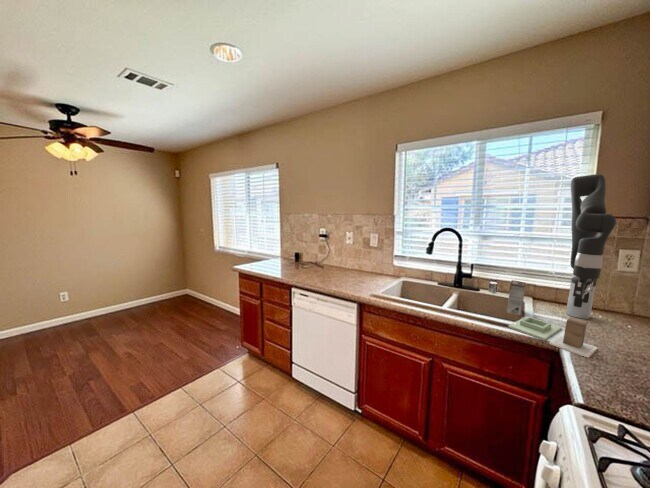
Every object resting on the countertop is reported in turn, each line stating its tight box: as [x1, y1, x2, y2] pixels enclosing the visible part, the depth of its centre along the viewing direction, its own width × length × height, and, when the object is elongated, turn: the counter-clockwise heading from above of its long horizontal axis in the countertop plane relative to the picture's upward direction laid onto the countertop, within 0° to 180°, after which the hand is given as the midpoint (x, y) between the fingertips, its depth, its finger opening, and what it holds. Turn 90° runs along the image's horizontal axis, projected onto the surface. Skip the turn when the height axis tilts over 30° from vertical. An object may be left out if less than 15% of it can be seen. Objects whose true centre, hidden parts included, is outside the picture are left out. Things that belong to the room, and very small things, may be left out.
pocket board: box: [507, 315, 563, 341], centre depth 124 cm, size 20×14×3 cm
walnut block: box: [563, 317, 588, 349], centre depth 108 cm, size 5×5×10 cm
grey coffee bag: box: [506, 279, 526, 316], centre depth 142 cm, size 9×6×16 cm
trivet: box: [548, 334, 598, 359], centre depth 109 cm, size 12×12×1 cm
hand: (580, 304), depth 106 cm, fingers open, 8 cm apart
